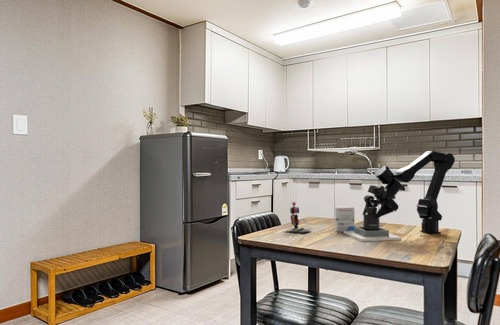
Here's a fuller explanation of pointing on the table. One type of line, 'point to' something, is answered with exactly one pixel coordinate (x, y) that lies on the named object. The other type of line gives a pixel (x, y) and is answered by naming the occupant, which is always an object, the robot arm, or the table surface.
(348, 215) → the ink box
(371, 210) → the supplement bottle
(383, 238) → the pocket plate
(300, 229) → the statue
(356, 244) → the table surface
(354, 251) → the table surface
